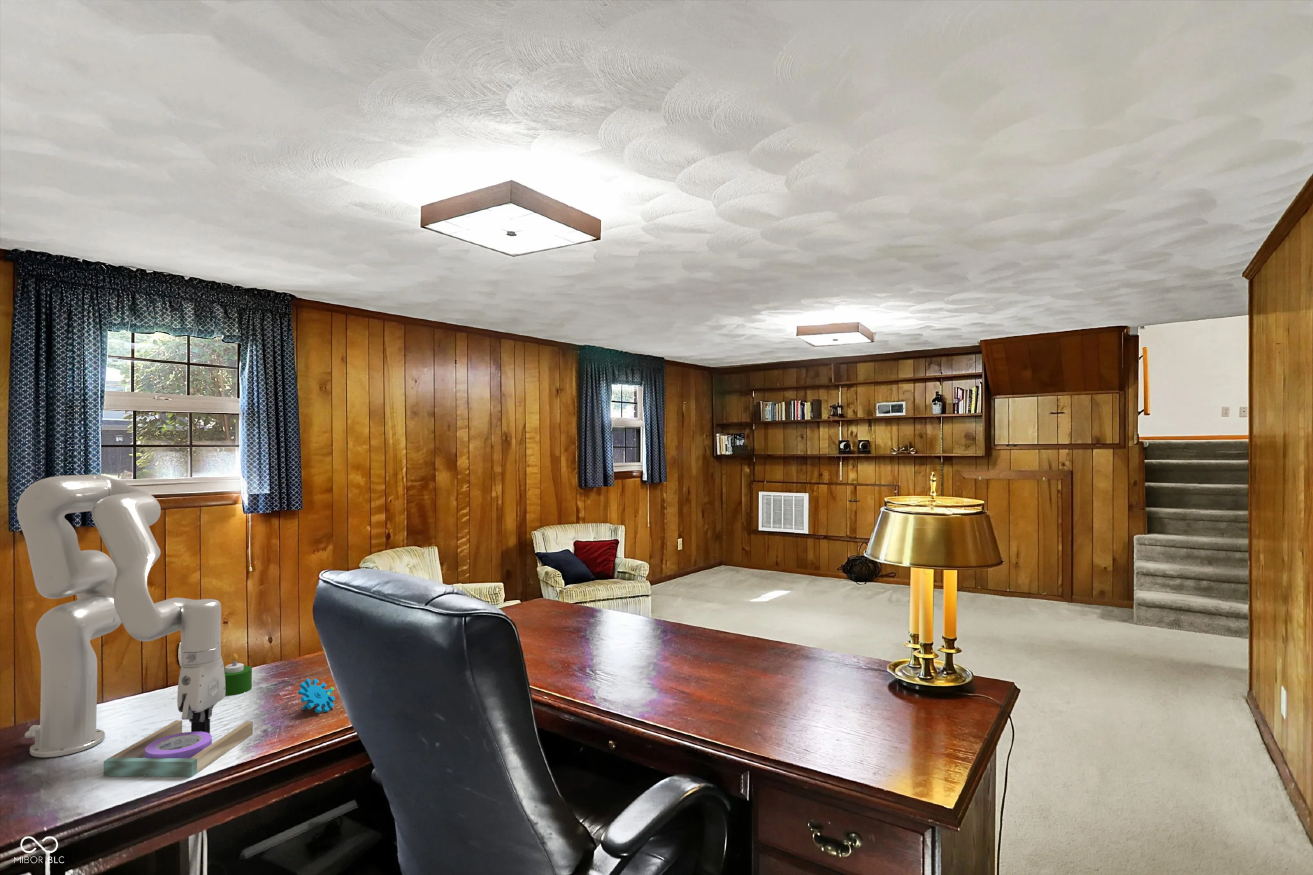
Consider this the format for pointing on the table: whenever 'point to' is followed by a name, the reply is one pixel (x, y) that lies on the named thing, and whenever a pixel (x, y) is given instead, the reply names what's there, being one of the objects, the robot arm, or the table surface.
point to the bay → (135, 765)
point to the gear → (316, 695)
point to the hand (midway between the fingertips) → (200, 737)
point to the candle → (237, 678)
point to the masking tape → (179, 745)
